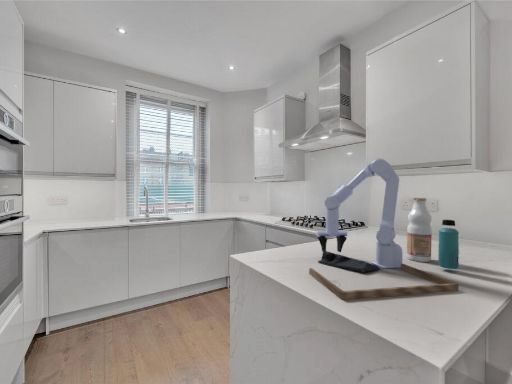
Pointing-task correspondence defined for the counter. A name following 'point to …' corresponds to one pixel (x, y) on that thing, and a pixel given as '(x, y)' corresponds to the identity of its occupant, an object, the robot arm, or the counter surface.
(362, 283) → the counter surface
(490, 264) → the counter surface
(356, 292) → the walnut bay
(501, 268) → the counter surface
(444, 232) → the beverage bottle
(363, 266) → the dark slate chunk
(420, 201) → the fruit juice
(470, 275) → the counter surface
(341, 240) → the robot arm
